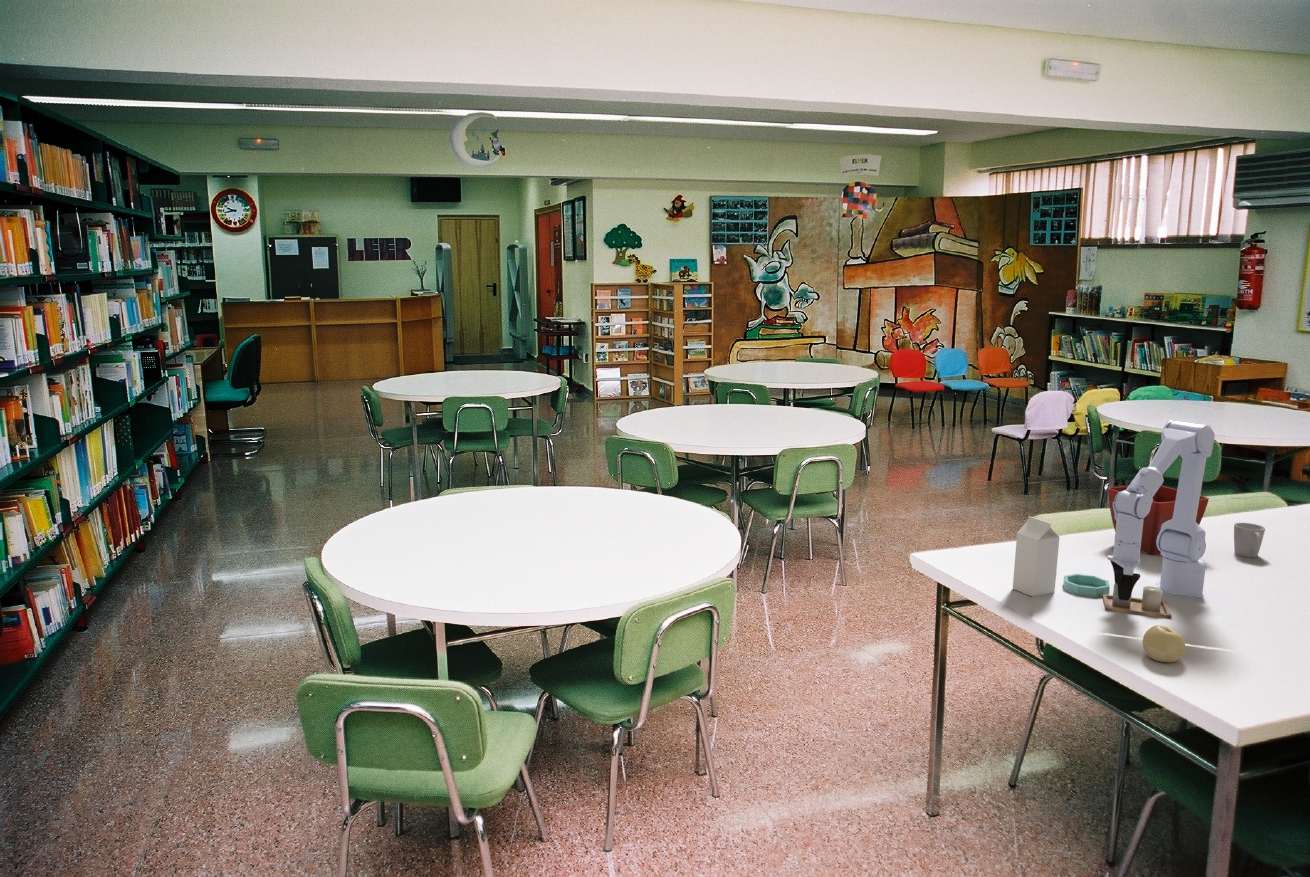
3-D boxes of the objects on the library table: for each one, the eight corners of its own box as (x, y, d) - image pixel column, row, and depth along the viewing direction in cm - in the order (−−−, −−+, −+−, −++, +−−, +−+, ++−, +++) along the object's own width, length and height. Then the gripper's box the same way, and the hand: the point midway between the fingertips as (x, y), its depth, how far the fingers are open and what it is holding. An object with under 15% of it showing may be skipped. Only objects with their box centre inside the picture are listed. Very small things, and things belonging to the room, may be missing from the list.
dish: (1106, 586, 240) (1107, 577, 240) (1109, 600, 231) (1110, 590, 230) (1062, 581, 244) (1063, 572, 243) (1064, 594, 234) (1065, 584, 234)
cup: (1253, 551, 271) (1257, 523, 269) (1271, 561, 261) (1275, 532, 260) (1225, 550, 272) (1229, 522, 270) (1242, 560, 262) (1246, 531, 261)
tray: (1165, 605, 227) (1165, 601, 227) (1171, 620, 218) (1171, 615, 218) (1102, 598, 232) (1102, 593, 232) (1105, 612, 223) (1105, 607, 223)
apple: (1130, 649, 201) (1146, 617, 201) (1166, 668, 199) (1182, 636, 200) (1144, 652, 193) (1160, 619, 193) (1181, 672, 191) (1198, 638, 192)
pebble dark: (1129, 603, 227) (1131, 584, 226) (1131, 609, 223) (1133, 589, 222) (1111, 601, 228) (1113, 582, 228) (1112, 606, 225) (1114, 587, 224)
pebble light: (1158, 607, 225) (1161, 587, 224) (1161, 612, 221) (1163, 592, 220) (1140, 604, 226) (1142, 585, 225) (1142, 610, 223) (1144, 590, 222)
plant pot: (1150, 536, 286) (1156, 483, 282) (1204, 554, 268) (1211, 498, 265) (1100, 541, 280) (1106, 487, 276) (1152, 560, 262) (1158, 503, 259)
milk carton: (1033, 597, 232) (1039, 524, 229) (1012, 588, 239) (1018, 517, 235) (1054, 594, 235) (1061, 521, 231) (1033, 585, 241) (1039, 514, 238)
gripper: (1106, 531, 231) (1101, 583, 233) (1112, 547, 218) (1106, 602, 220) (1138, 534, 228) (1132, 586, 231) (1145, 550, 215) (1139, 606, 218)
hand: (1122, 594), depth 225 cm, fingers open, 7 cm apart
